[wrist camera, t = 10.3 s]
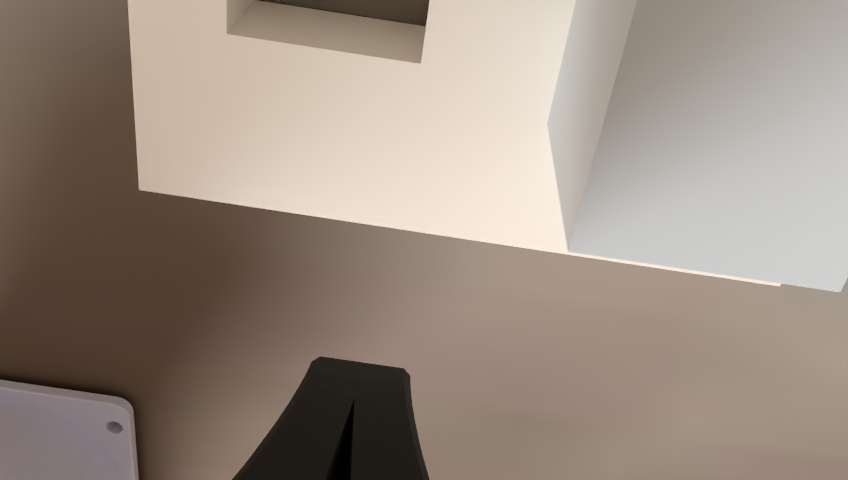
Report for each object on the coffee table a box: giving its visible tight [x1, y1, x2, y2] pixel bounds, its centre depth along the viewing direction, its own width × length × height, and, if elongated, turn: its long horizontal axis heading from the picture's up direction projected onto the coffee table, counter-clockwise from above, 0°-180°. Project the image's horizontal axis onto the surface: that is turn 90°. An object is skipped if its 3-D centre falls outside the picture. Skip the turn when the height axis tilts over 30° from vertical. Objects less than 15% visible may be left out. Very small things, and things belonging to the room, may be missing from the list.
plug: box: [547, 0, 848, 292], centre depth 14 cm, size 6×4×7 cm
